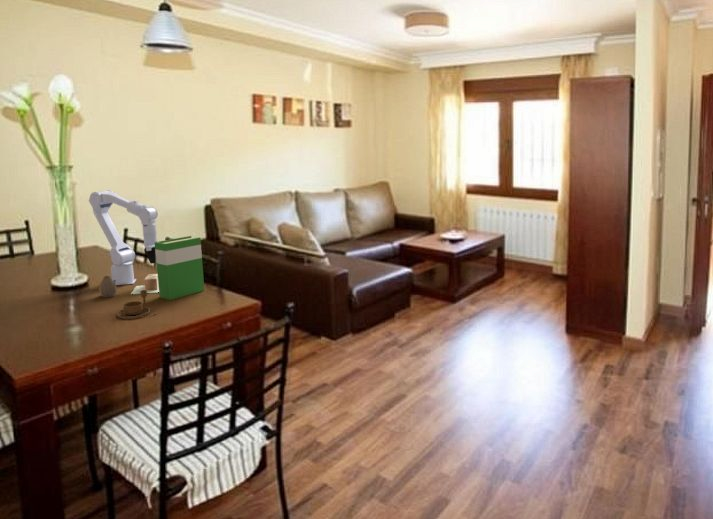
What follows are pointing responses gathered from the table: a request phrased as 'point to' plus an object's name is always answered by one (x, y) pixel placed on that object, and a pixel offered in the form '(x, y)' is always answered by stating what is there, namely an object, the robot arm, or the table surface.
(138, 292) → the mat
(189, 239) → the hardback book
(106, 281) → the vase
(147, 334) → the table surface
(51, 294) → the table surface
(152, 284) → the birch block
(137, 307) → the place setting
